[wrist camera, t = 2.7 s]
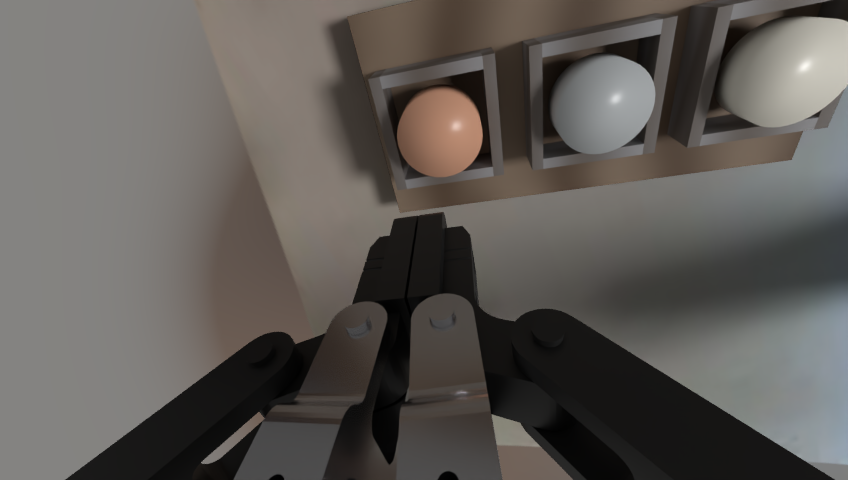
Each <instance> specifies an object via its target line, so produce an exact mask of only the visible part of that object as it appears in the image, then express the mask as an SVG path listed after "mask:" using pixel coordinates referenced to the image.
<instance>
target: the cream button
mask: <svg viewBox="0 0 848 480" xmlns="http://www.w3.org/2000/svg"><path fill="white" fill-rule="evenodd" d="M847 85H848V22H847V21H844V20H841V19H833V18H821V17H808V16H783V17H779V18H775V19H773V20H770V21H767V22H765V23H763V24H761V25H759V26H758V27H756V28H754V29H753V30H751V31H750V32H749V33H747V34H746V35H745V36H744V37H742V38H741V39H740V40H739V41H738V42H737V43H736V44H735V45H734V46H733V47H732V49H731V50H730V51H729V52H728V54H727V55H726V57H725V58H724V60H723V61H722V63H721V65H720V67H719V70H718V72H717V76H716V80H715V87H714V90H715V96H716V99H717V101H718V103H719V105H720V106H721V107H722V108H723V109H724V110H726V111H728V112H729V113H732V114H734V115H736V116H738V117H740V118H743V119H745V120H747V121H749V122H751V123H754V124H756V125H759V126H762V127H782V126H787V125H791V124H794V123H797V122H799V121H802V120H804V119H806V118H808V117H810V116H812V115H814V114H815V113H817V112H819V111H820V110H821V109H823V108H824V107H826V106H827V105H828V104H829V103H831V102H832V101H833V100H834V99H835V98H836V97H837V96H838V95H839V94H840V93H841V92H842V91H843V90H844V89H845V87H846V86H847Z"/></svg>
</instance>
